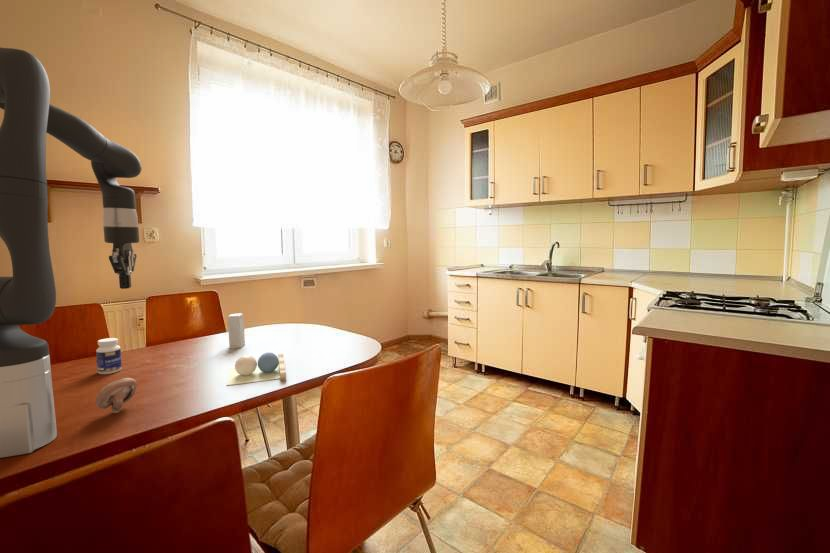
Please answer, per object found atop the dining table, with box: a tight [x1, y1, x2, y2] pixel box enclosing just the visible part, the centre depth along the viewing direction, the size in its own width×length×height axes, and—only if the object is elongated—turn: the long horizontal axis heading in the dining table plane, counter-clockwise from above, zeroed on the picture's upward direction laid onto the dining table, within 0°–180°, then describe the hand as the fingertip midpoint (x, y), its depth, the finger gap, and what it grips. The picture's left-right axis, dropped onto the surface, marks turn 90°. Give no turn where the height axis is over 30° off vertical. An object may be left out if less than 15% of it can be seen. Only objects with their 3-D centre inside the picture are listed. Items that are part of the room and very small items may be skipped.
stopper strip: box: [277, 353, 287, 382], centre depth 113 cm, size 18×2×2 cm, turn 22°
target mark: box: [226, 364, 280, 387], centre depth 110 cm, size 14×14×1 cm
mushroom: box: [95, 377, 138, 414], centre depth 85 cm, size 8×6×8 cm
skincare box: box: [227, 312, 246, 349], centre depth 139 cm, size 6×4×12 cm
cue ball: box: [234, 354, 258, 376], centre depth 109 cm, size 6×6×6 cm
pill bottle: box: [95, 337, 123, 375], centre depth 111 cm, size 6×6×10 cm
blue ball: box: [257, 352, 279, 373], centre depth 112 cm, size 6×6×6 cm
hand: (125, 288), depth 102 cm, fingers closed
